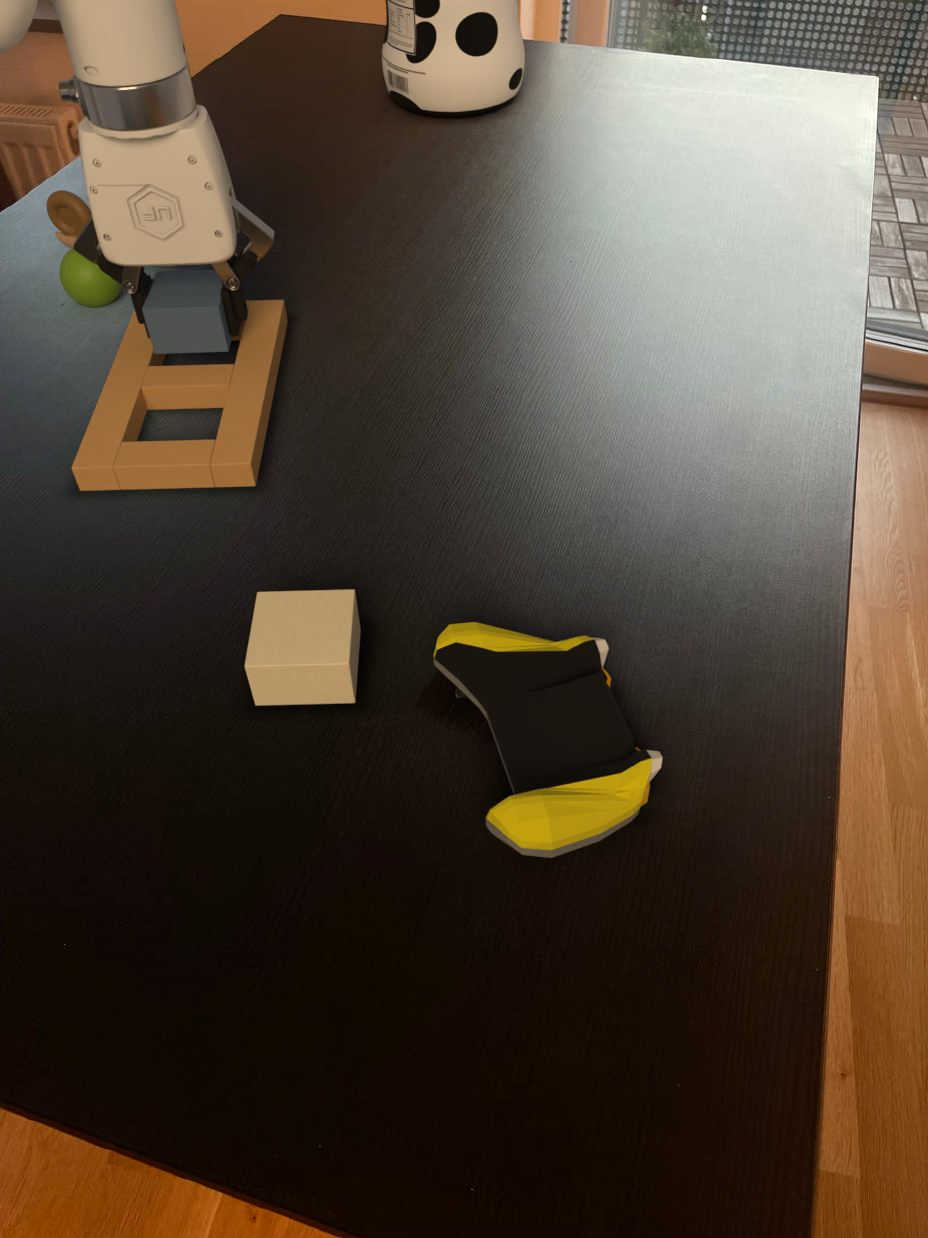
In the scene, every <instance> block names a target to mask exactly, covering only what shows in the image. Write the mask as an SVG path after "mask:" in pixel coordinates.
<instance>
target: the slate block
mask: <svg viewBox="0 0 928 1238" xmlns="http://www.w3.org/2000/svg"><path fill="white" fill-rule="evenodd" d="M153 280H154V281H153V283H152V286H151V289H150V291H149V294H148V296H147V299H146V300H145V303H144V306H143V308H142V311H143V315H144V318H145V322H146V325H147V329H148V332H149V336H150V339H151V342H152V346H153V349H154V353H155V354H166V355H167V354H198V353H199V354H200V353H228V352H229V351H230V347H231V343H232V341H231V340H232V336H231V334H230V333H229V329H228V324H227V320H226V315H225V311H224V306H223V302H222V298H221V296H220V291H221V288H222V280H221V279H220V277H219V276H218V274H217V273H216V271H215V270H214V269H193V270H192V269H191V270H158V271H156V272H155V274H154V278H153Z"/></svg>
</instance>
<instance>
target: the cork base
mask: <svg viewBox="0 0 928 1238" xmlns="http://www.w3.org/2000/svg"><path fill="white" fill-rule="evenodd" d="M246 303H247V309H248V317H247V320H246V321H242V324H241V328H240V332H239V335H238V336H232V340H231V342H232V341H233V342H234V341H239V345H238V349H237V352H236V358H235V361H234V363H226V364H225V363H224V364H223V363H222V364H221V363H220V364H188V365H187V364H185V365H184V364H183V365H182V364H181V365H163V364H164V361H165V359H166V355H167V354H155V353H154V349H153V346H152V342H151V339H149V338H148V336H147V332H146V329H145V326H144V324H139V322H138V319H137V316H136V312H135V309H134V308H133V311H132V314H131V316H130V319H129V322H128V324H127V327H126V329H125V332H124V335H123V337H122V340H121V341H120V344H119V348H118V350H117V352H116V355H115V356H114V360H113V362H112V365H111V367H110V370H109V372H108V375H107V377H106V380H105V383H104V384H103V387H102V390H101V393H100V395H99V398H98V400H97V402H96V405H95V408H94V410H93V412H92V415H91V418H90V419H89V422H88V425H87V428H86V429H85V433H84V435H83V438H82V441H81V443H80V445H79V448H78V451H77V453H76V455H75V458H74V460H73V462H72V465H71V471H72V474H73V476H74V478H75V481H76V484H77V487H78V489H79V491H80V492H81V491H82V492H83V491H84V492H85V491H86V492H88V491H90V492H91V491H120V490H123V491H124V490H161V489H163V490H165V489H198V488H199V489H200V488H201V489H203V488H205V489H206V488H238V487H239V488H240V487H256V486H257V483H258V477H259V471H260V467H261V462H262V461H261V460H262V456H263V452H264V446H265V441H266V436H267V431H268V425H269V421H270V416H271V409H272V405H273V400H274V395H275V389H276V384H277V378H278V374H279V369H280V362H281V359H282V353H283V348H284V343H285V338H286V332H287V327H288V316H287V308H286V303H285V300H284V299H260V300H253V299H252V300H250V299H249V300H247V299H246ZM186 409H187V410H189V409H222V413H221V417H220V421H219V425H218V429H217V434H216V438H215V439H183V440H181V439H180V440H177V439H176V440H145V441H144V440H143V441H140V440H139V441H138V438H139V435H140V432H141V430H142V426H143V423H144V422H145V421H144V420H145V418H146V415H147V412H148V410H149V411H153V410H186Z"/></svg>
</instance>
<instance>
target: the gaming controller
mask: <svg viewBox="0 0 928 1238" xmlns="http://www.w3.org/2000/svg"><path fill="white" fill-rule="evenodd" d="M609 650H610V648H609V645H608V643H607V641H606V639H604V638H601V637H590V636H588V635H579V636H575V637H570V638H567V639H563V640H560V641H555V640H549V639H546V638H543V637H542V638H541V637H538V636H534V635H529V634H525V633H521V632H518V631H513V630H510V629H505V628H501V627H497V626H493V625H490V624H485V623H481V622H476V621H471V622H461V623H451V624H448V625H447V626H446V628H444V630H443V631H441V633H440V634H439V635H438V636H437V640H436V644H435V649H434V652H433V665H434V667H436V669H438V671H440V672H441V673H442V674H443V675H444V676H445V677H446V678H447V679H448V680H449V681H450V682H452V684H453V685H455V686H456V687H457V688H458V689H459V690H460V691H461V692H462V693H463V694H464V695H465V696H466V697H468V699H469V700H470V701H471V702H472V703H473V704H474V705H475V706H476V707H477V708H478V709H479V710H480V712H481V713H482V714H483V716H484V717H485V718H486V721H487V723H488V726H489V728H490V731H491V734H492V736H493V740H494V743H495V746H496V748H497V750H498V754H499V757H500V759H501V762H502V765H503V768H504V770H505V773H506V776H507V779H508V782H509V784H510V788H511V790H512V793H513V795H509V796H507V797H504V798H502V800H500V801H498V802H497V803H496V804H495V805H494V806H492V807H491V808H490V809H489V810H488V812H487V814H486V816H485V827H486V828H487V829H488V831H489V832H490V833H491V834H492V835H493V836H495V837H496V838H497V839H499V840H500V841H502V842H503V843H504V844H506V845H508V847H510V848H512V849H513V850H515V851H516V852H517V853H519V854H521V856H529V857H538V858H549V859H553V858H555V857H558V856H561V855H565V854H567V853H570V852H572V851H575V850H578V849H580V848H583V847H586V846H589V845H592V844H595V843H598V842H601V841H602V840H604V839H605V838H607V837H609V836H611V834H614V833H615V832H616V831H618V830H620V829H621V828H623V827H625V826H627V825H628V824H629V823H631V822H632V821H633V820H635V818H636V817H637V816H638V815H639V814H640V810H641V807H642V806H644V805H645V804H647V803H648V800H649V795H650V789H651V781H652V780H653V779H654V777H655V776H656V775H657V774H658V772H659V771H660V770H661V768H662V764H663V757H664V756H662V754H661V752H660V751H658V750H650V749H646V748H644V749H640V748H639V747H638V745H637V742H636V741H635V738H634V737H633V734H632V732H631V730H630V728H629V725H628V724H627V721H626V720H625V718H624V715H623V713H622V711H621V708H620V707H619V704H618V702H617V701H616V698H615V696H614V694H613V692H612V690H611V683H612V677H611V676H610V674H609V673H608V672H607V671H606V669H604V665H605V662H606V659H607V656H608V653H609Z"/></svg>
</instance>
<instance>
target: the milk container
mask: <svg viewBox="0 0 928 1238" xmlns="http://www.w3.org/2000/svg"><path fill="white" fill-rule="evenodd" d="M385 10H386V16H385V17H386V20H385V21H386V23H385V30H384V37H383V43H382V48H381V49H382V50H381V67H382V74H383V78H384V81H385V87H386V89H387V91H388V93H389V96H390V97H391V98H392V99H393V100H394V101H395V102H396V103H397V104H398V105H400V106H401V107H402V108H404V109H407V110H410V111H412V112H414V113H416V114H421V115H427V116H433V117H448V118H449V117H450V118H451V117H453V118H459V117H466V116H467V117H469V116H476V115H481V114H485V113H489V112H493V111H496V110H498V109H499V108H501V107H503V106H504V105H506V104H509V103H510V102H511V101H512V100H513V99H515V97H516V96H517V94H518V93H519V91H520V89H521V87H522V82H523V78H524V73H525V63H526V51H525V43H524V39H523V38H524V37H523V35H522V30H521V25H520V19H519V0H385Z"/></svg>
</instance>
